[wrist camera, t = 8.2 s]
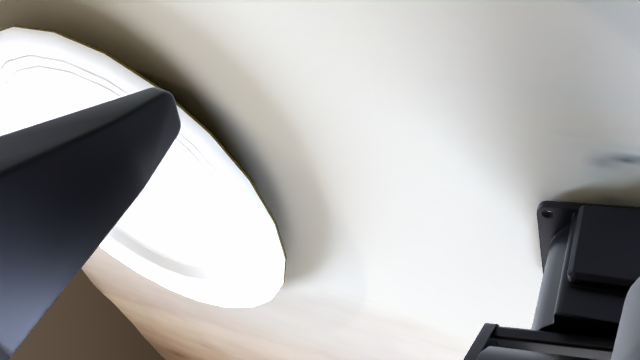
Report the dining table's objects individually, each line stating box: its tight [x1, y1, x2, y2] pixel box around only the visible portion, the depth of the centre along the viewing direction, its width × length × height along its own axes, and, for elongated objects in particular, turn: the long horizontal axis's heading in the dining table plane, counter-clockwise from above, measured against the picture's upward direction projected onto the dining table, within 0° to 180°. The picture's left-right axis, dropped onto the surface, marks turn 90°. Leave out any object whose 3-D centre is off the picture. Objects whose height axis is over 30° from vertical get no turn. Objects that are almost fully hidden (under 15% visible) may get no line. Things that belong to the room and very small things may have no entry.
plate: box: [0, 26, 286, 308], centre depth 41 cm, size 29×29×2 cm
